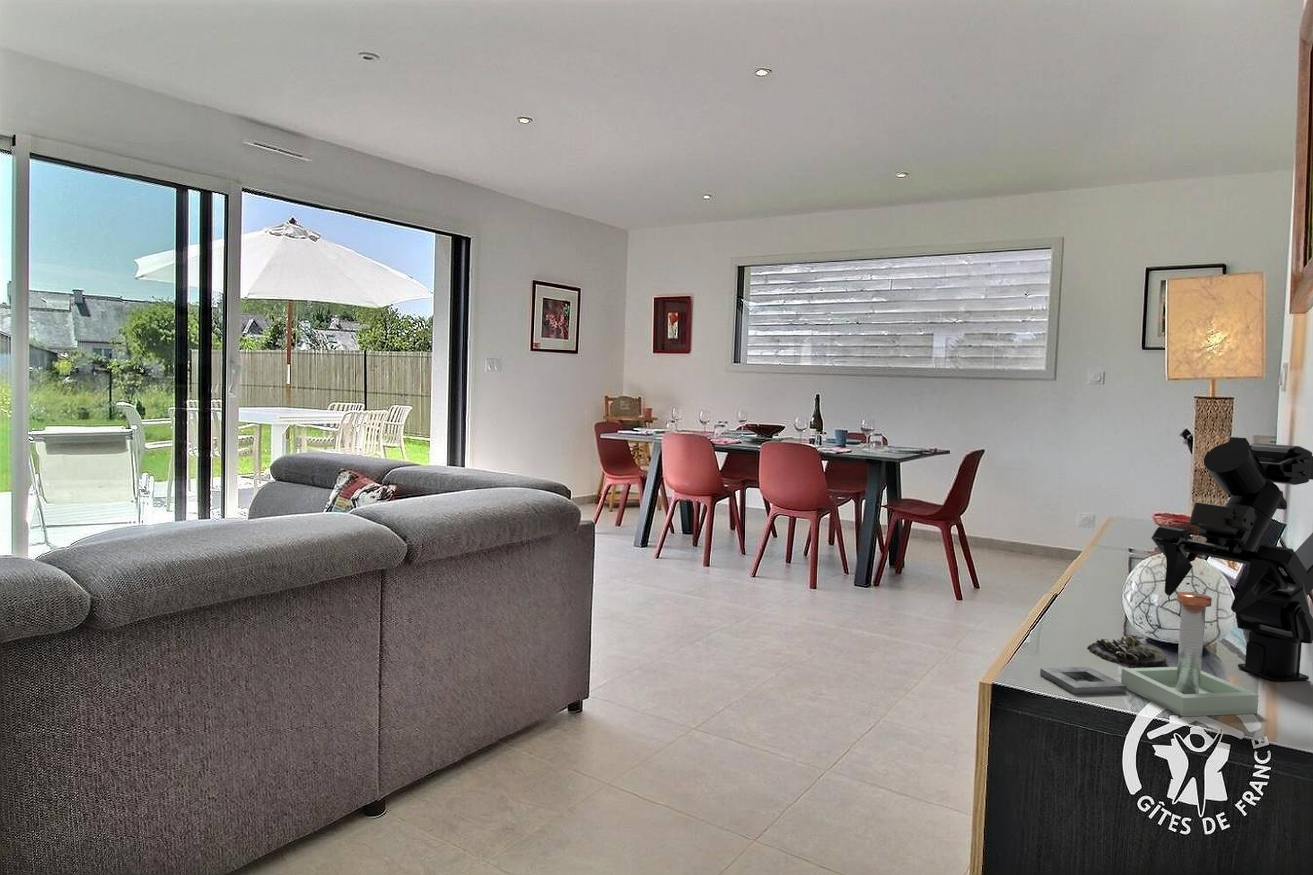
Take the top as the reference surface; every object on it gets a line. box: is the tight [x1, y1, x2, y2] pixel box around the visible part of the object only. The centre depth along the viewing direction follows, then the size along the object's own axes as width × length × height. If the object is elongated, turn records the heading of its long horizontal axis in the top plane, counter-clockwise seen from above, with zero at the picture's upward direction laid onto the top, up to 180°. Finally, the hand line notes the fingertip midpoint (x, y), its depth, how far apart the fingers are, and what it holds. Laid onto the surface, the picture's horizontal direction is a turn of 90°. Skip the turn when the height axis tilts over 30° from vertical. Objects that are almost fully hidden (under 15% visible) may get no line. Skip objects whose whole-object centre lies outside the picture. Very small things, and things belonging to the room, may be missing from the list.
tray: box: [1120, 666, 1260, 718], centre depth 116 cm, size 11×11×2 cm
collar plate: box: [1039, 666, 1127, 695], centre depth 122 cm, size 8×8×1 cm
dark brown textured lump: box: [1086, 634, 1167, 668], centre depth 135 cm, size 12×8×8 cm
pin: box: [1175, 591, 1213, 694], centre depth 116 cm, size 4×4×14 cm
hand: (1198, 602), depth 119 cm, fingers open, 9 cm apart
